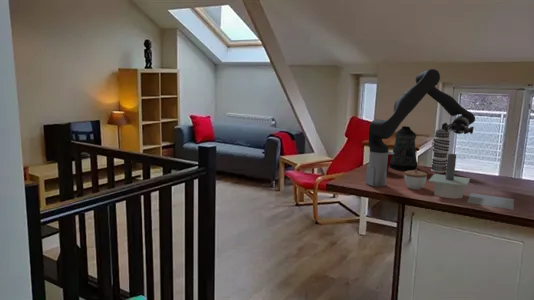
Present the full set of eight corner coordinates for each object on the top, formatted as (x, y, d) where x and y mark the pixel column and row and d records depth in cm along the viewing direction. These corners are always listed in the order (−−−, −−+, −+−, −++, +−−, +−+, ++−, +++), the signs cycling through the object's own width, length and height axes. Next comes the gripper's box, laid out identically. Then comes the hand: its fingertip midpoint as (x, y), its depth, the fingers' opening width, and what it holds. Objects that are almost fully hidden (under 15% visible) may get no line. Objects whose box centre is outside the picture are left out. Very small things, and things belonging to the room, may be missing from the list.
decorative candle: (429, 171, 250) (433, 129, 246) (431, 168, 258) (435, 127, 254) (445, 173, 246) (450, 130, 241) (447, 170, 254) (451, 129, 250)
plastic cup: (394, 173, 243) (396, 153, 241) (375, 173, 243) (377, 152, 241) (389, 169, 253) (391, 149, 251) (371, 168, 254) (372, 149, 251)
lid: (466, 187, 189) (469, 159, 187) (428, 182, 197) (431, 155, 195) (469, 180, 203) (472, 153, 201) (434, 175, 211) (436, 149, 209)
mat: (513, 210, 180) (513, 209, 180) (466, 203, 189) (467, 202, 189) (513, 200, 196) (513, 199, 196) (470, 194, 205) (470, 193, 204)
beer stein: (401, 171, 248) (404, 129, 244) (380, 164, 266) (383, 125, 261) (423, 169, 255) (427, 128, 250) (401, 163, 272) (404, 124, 268)
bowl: (447, 200, 193) (449, 185, 192) (428, 192, 205) (429, 178, 203) (468, 197, 198) (470, 183, 197) (448, 190, 209) (449, 177, 208)
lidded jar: (427, 191, 208) (429, 172, 206) (404, 189, 209) (406, 171, 208) (423, 185, 218) (425, 167, 216) (402, 184, 220) (403, 166, 218)
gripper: (446, 116, 221) (441, 120, 208) (476, 120, 214) (473, 125, 201) (444, 130, 223) (438, 135, 210) (474, 134, 216) (470, 140, 203)
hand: (455, 130), depth 205 cm, fingers open, 8 cm apart
